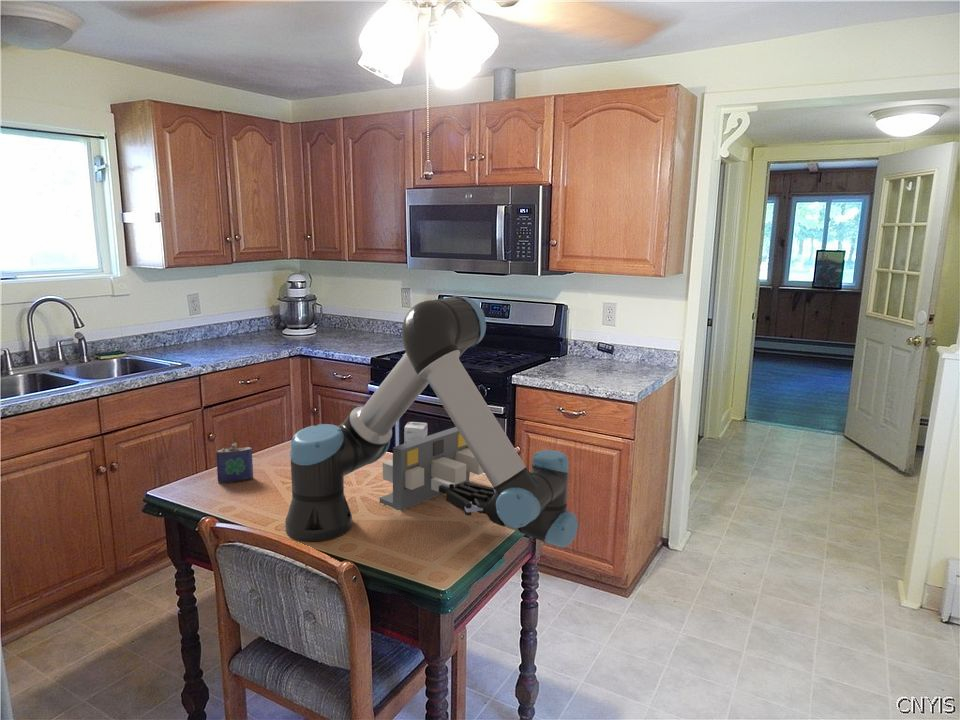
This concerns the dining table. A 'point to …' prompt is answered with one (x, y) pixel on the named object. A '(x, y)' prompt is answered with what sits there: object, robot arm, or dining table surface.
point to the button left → (405, 475)
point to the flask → (234, 464)
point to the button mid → (448, 470)
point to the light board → (421, 456)
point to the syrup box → (414, 431)
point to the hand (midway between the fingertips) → (433, 483)
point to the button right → (468, 460)
